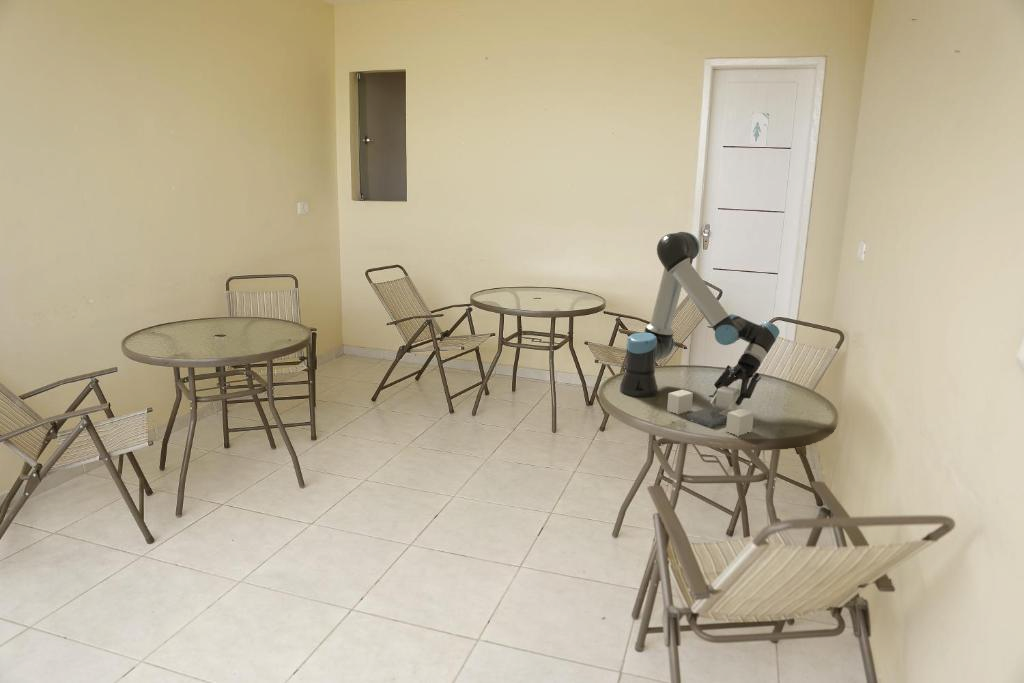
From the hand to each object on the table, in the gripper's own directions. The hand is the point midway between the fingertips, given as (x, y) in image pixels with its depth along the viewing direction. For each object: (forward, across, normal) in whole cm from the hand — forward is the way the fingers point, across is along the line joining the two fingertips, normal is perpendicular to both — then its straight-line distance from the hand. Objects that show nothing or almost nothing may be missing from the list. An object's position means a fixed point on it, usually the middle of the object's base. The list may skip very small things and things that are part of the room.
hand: (721, 407), depth 252 cm
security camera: (0, 0, -5) cm, 5 cm away
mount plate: (+8, 0, +3) cm, 8 cm away
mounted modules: (+8, 0, +3) cm, 8 cm away
